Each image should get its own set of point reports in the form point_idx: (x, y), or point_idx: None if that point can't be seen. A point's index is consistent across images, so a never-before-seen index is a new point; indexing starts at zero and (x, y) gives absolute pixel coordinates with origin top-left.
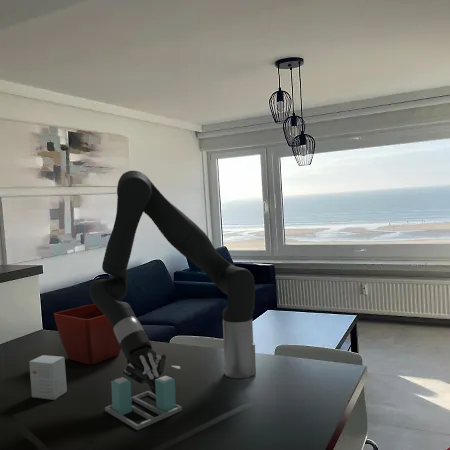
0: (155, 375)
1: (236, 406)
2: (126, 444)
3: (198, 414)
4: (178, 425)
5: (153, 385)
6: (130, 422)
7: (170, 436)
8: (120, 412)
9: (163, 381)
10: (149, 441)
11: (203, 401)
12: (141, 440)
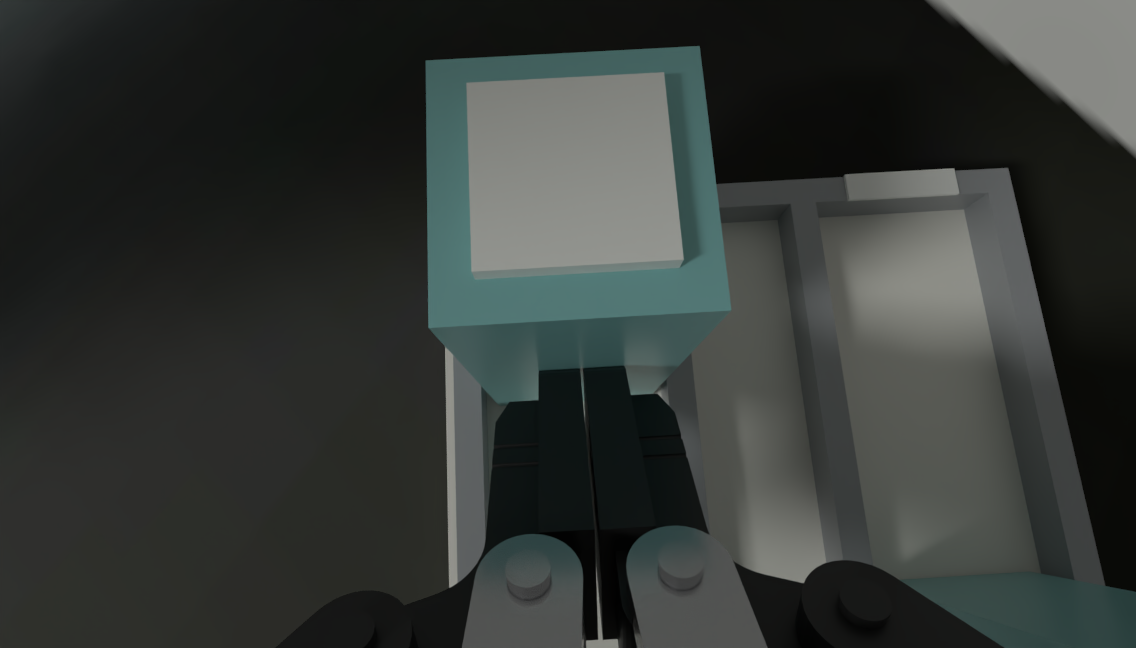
0: (562, 582)
1: (28, 22)
2: (1093, 136)
3: (358, 133)
4: None
5: (667, 469)
6: (1034, 282)
7: (754, 7)
8: (1049, 577)
9: (663, 92)
10: (921, 54)
11: (131, 308)
12: (968, 107)
